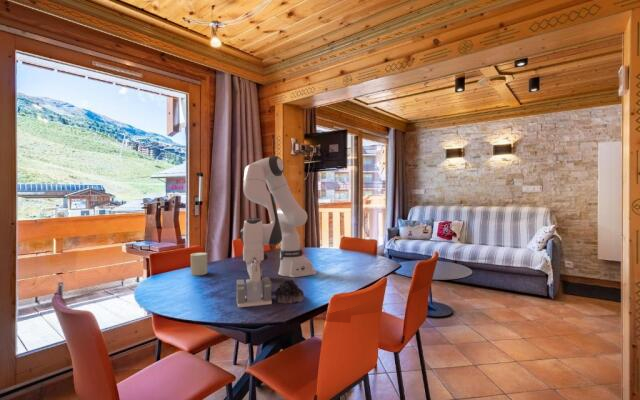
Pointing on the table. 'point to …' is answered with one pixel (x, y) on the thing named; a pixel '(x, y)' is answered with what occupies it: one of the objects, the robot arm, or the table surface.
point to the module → (250, 293)
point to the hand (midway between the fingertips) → (253, 287)
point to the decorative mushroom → (261, 265)
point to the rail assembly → (264, 300)
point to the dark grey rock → (289, 292)
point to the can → (198, 263)
